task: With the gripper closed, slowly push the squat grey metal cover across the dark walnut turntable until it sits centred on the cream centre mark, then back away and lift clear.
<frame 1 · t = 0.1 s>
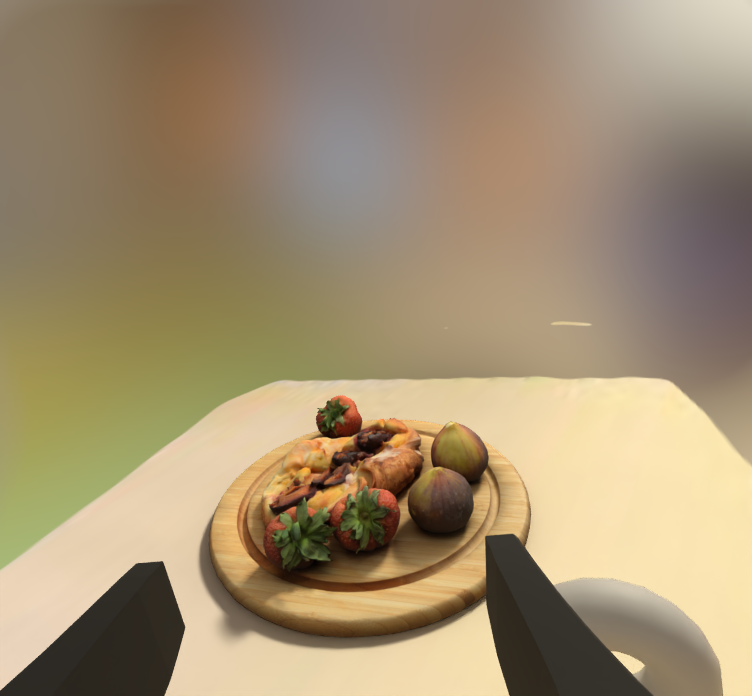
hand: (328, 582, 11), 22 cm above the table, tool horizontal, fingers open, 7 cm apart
wooden plate with food: (370, 509, 49), on the table
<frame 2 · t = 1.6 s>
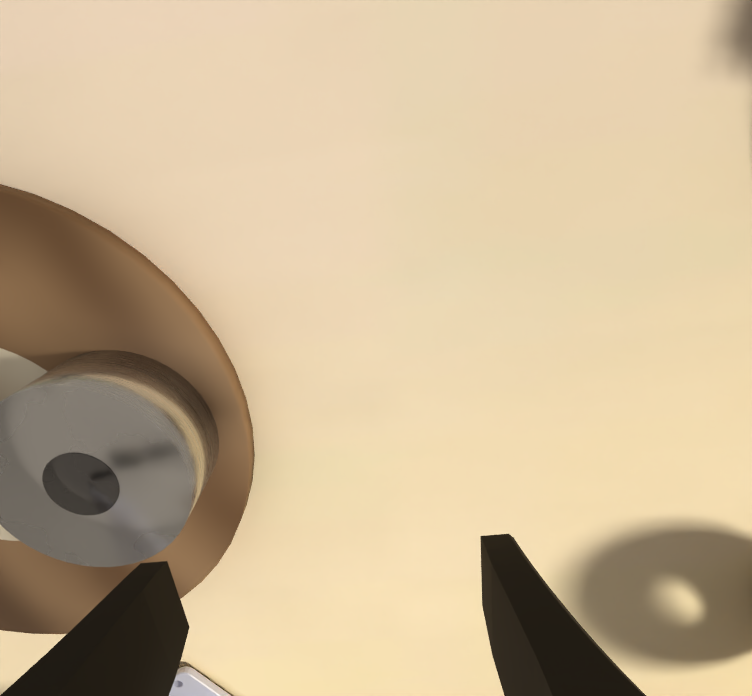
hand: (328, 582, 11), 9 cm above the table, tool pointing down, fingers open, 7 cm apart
cover: (127, 435, 18), point 2 cm above the table, touching turntable
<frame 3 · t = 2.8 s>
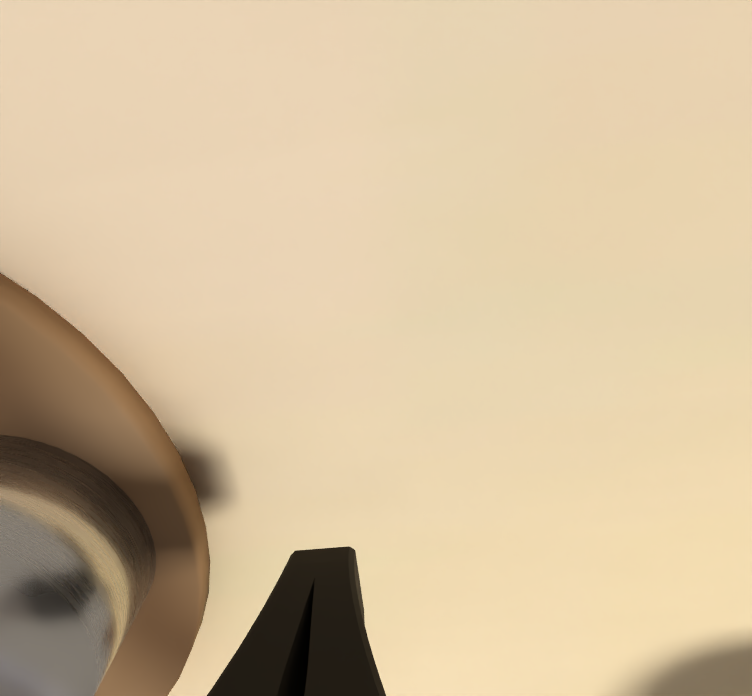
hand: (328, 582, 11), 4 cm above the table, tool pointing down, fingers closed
cover: (25, 546, 13), point 2 cm above the table, touching turntable
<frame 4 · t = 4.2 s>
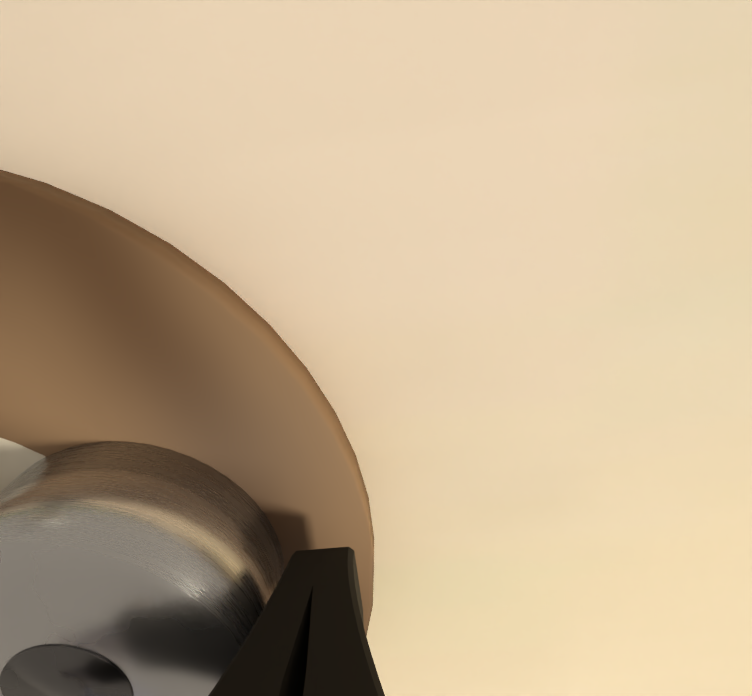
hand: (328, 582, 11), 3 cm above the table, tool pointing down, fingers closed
cover: (142, 563, 12), point 2 cm above the table, touching gripper
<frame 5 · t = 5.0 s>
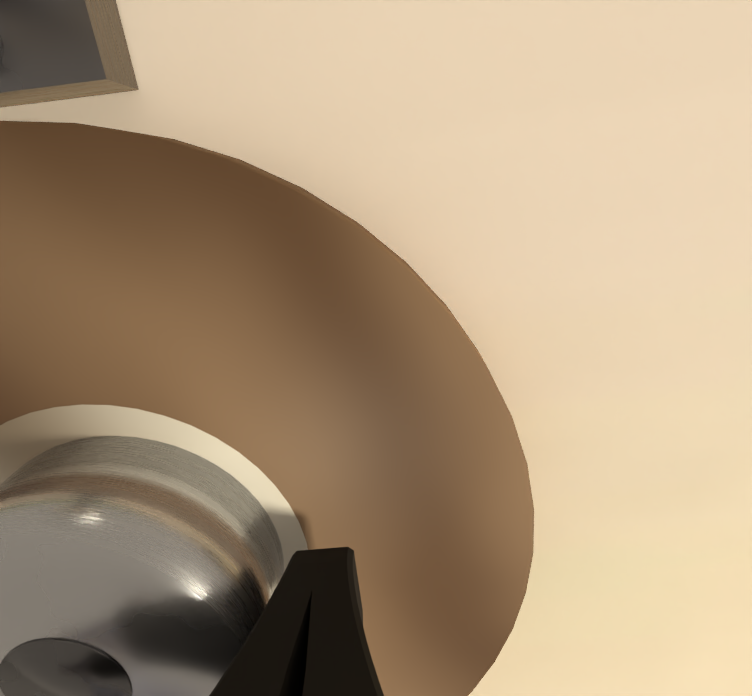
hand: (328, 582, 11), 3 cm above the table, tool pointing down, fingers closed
cover: (141, 559, 12), point 2 cm above the table, touching gripper
turntable: (138, 550, 12), point 1 cm above the table, hinge at 0.0°
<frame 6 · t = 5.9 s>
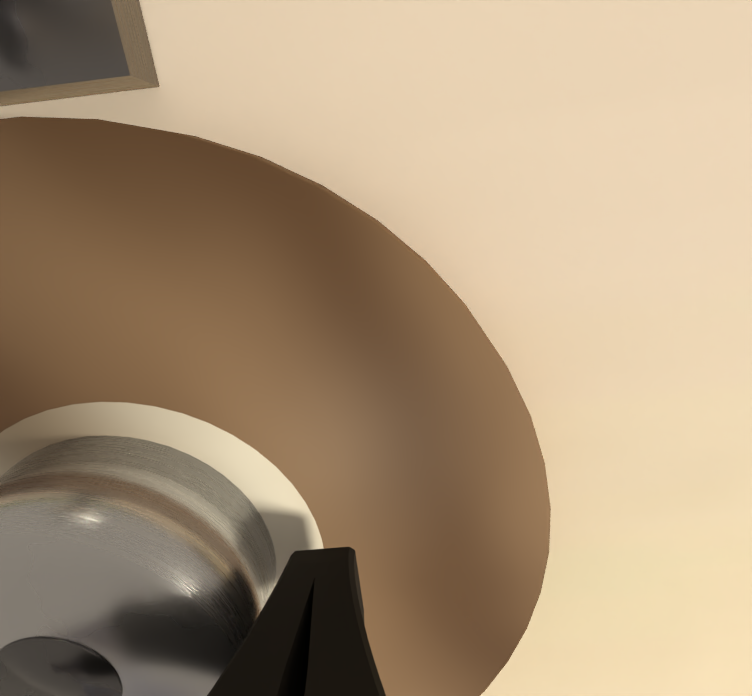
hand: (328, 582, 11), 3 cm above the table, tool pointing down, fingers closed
cover: (134, 558, 12), point 2 cm above the table, touching turntable
turntable: (152, 548, 12), point 1 cm above the table, hinge at 0.0°, touching cover
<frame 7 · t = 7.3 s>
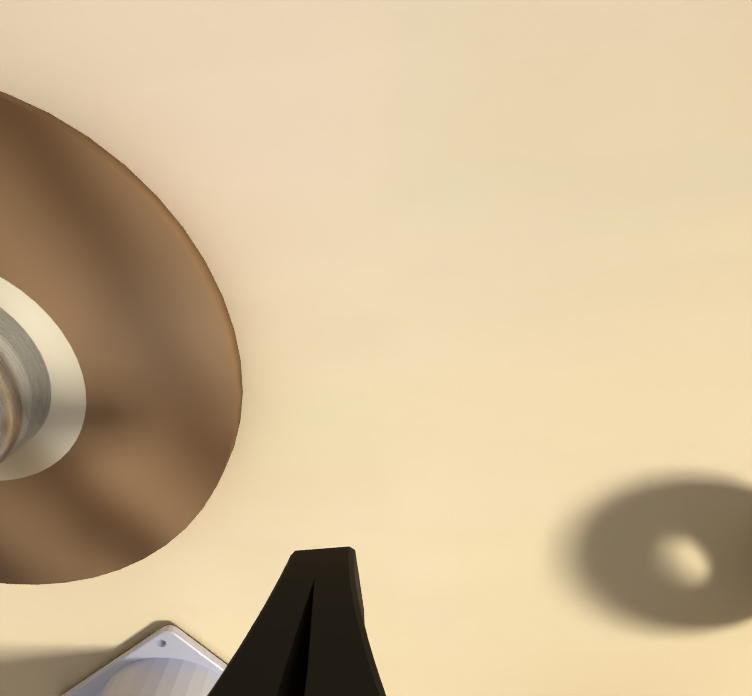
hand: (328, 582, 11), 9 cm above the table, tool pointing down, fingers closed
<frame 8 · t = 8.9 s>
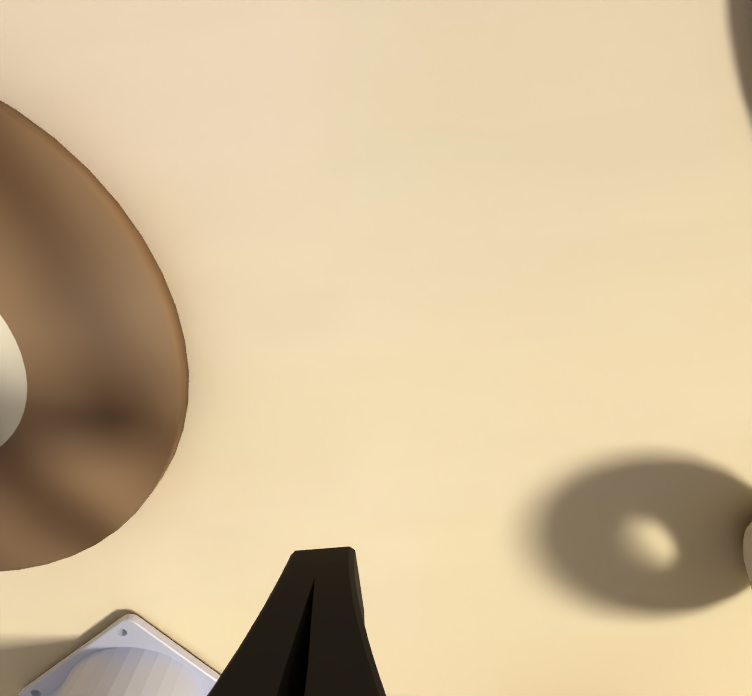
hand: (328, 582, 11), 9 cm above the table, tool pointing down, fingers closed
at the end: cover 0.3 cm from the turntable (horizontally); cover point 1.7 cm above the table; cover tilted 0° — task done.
